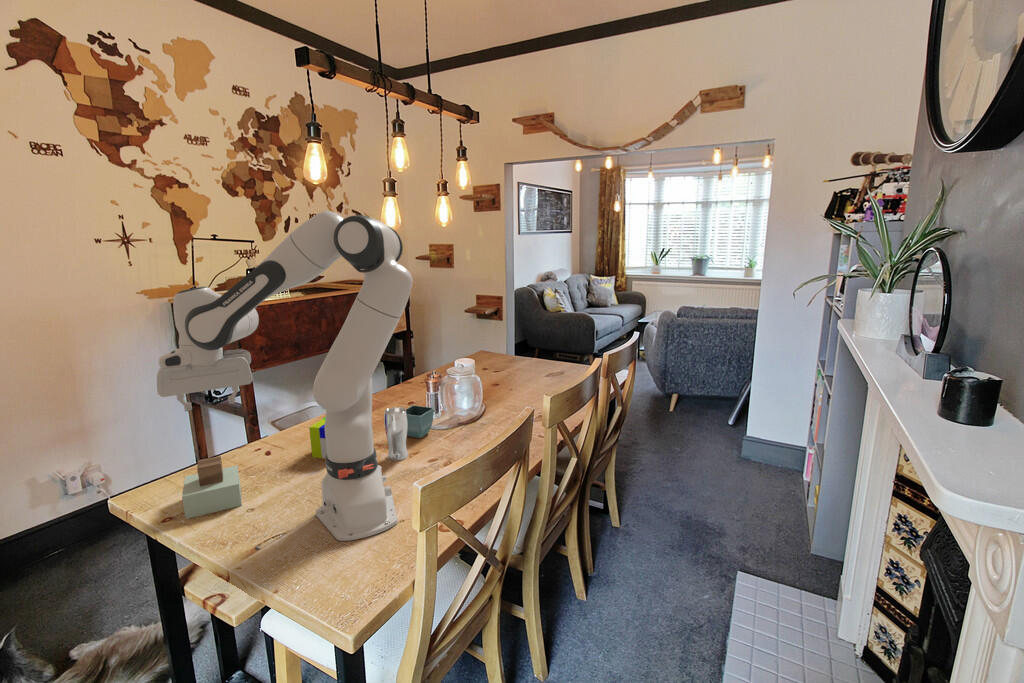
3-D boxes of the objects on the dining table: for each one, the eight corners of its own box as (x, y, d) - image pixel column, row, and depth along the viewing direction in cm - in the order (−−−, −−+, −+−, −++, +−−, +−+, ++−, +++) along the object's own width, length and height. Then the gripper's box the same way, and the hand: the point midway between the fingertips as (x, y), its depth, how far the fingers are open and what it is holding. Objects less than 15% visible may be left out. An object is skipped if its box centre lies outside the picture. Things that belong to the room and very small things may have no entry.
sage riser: (241, 505, 124) (238, 483, 123) (185, 519, 118) (181, 496, 117) (240, 485, 134) (237, 465, 133) (188, 497, 128) (185, 476, 127)
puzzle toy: (341, 459, 149) (338, 429, 147) (312, 457, 151) (309, 427, 149) (357, 446, 159) (355, 417, 157) (330, 444, 161) (327, 415, 159)
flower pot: (399, 438, 165) (398, 413, 163) (414, 428, 173) (412, 404, 171) (421, 441, 162) (420, 416, 160) (435, 432, 170) (434, 407, 168)
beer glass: (384, 454, 153) (381, 408, 150) (407, 450, 156) (404, 405, 153) (388, 463, 147) (385, 416, 144) (411, 458, 149) (409, 412, 146)
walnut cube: (223, 481, 124) (220, 463, 123) (200, 486, 122) (197, 468, 121) (223, 473, 128) (220, 455, 127) (200, 478, 126) (198, 460, 125)
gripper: (249, 345, 128) (256, 395, 131) (153, 356, 117) (163, 410, 120) (250, 350, 122) (257, 402, 125) (150, 362, 112) (161, 418, 115)
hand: (210, 406), depth 123 cm, fingers open, 8 cm apart
